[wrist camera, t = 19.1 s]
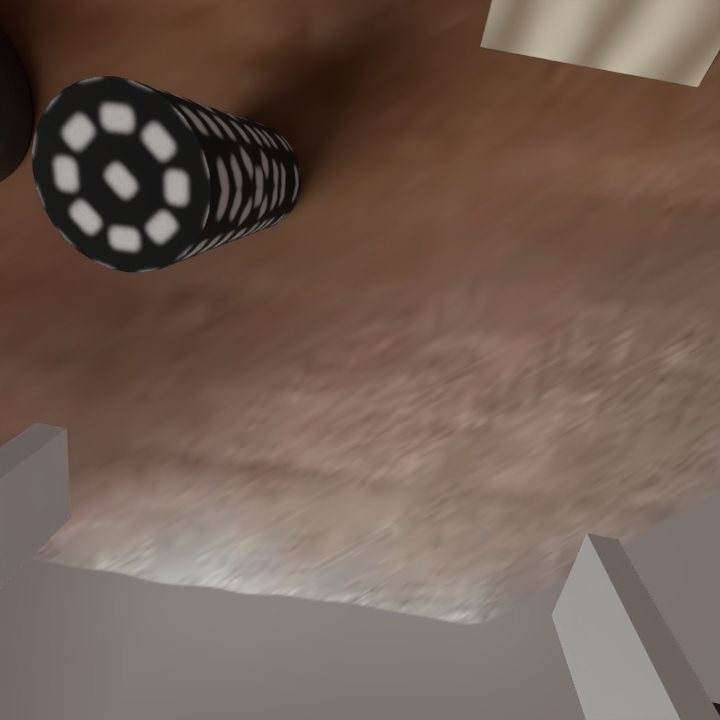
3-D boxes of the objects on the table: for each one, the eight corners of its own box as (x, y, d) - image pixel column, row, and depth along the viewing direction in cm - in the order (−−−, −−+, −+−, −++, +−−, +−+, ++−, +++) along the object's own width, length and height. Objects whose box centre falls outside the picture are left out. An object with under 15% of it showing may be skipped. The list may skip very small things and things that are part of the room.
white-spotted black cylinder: (321, 186, 41) (248, 196, 22) (249, 249, 43) (128, 306, 25) (253, 98, 39) (112, 28, 20) (182, 169, 41) (-4, 165, 23)
